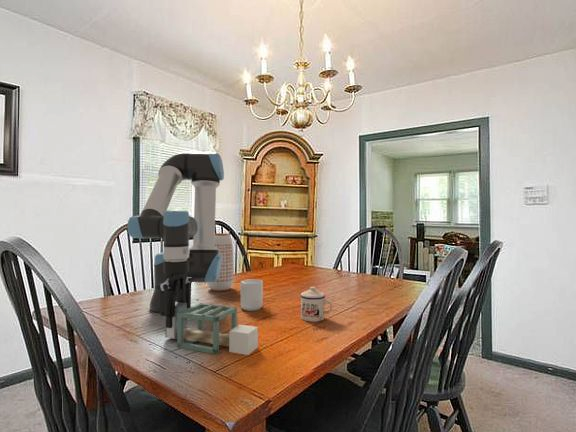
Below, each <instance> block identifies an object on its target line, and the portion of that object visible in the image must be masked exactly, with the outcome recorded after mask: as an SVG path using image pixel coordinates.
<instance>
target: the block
mask: <svg viewBox="0 0 576 432" xmlns="http://www.w3.org/2000/svg"><path fill="white" fill-rule="evenodd" d="M228 332H229V334H228V335H229V346H228V347H229V350H228V351H229V352H230V353H233V354H234V353H235V354H240V355H245V356H249V355H250V354H252V353H253V352H254V351H255V350H257V349H258V347H259V343H258V342H259V327H258V326H252V325H244V324H237V327H235V328H233V329H232V330H229V331H228Z"/></svg>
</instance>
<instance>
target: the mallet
mask: <svg viewBox="0 0 576 432" xmlns="http://www.w3.org/2000/svg"><path fill="white" fill-rule="evenodd" d="M185 309H187V303H181V302H175V309H174V316H175V317H176V338H174V339H175V340H177V313H178V312H180V311H182V310H185ZM164 326H165V327H164V331H165V334H164V337H165V338H167V328H166V317H164ZM183 340H189V341H193V342H195V341H200V343H207V344H212V345H213V331H206V330H204V331H201V330H198V329H194V328H188V318H184V317H183ZM219 346H226V347H229V334H227V333H221V332H219Z"/></svg>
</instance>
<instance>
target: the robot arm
mask: <svg viewBox="0 0 576 432" xmlns="http://www.w3.org/2000/svg"><path fill="white" fill-rule="evenodd" d="M157 176H158V178H157V180H156V183H154V186H153V188H152V189H151V193H150V195H149V197H148V199H147V200H146V203H145V205H144V207H143V209H142V211H141V212H140V215H132V216H131V217H129V218H128V220H127V229H126V230H127V233H128V235H129V236H130V238H133V239H142V240H143V239H163V251H162V252H159V253H157V254H155V255H154V264H153V267H154V268H153V272H154V273H153V275H154V279H153V281H154V283H153V285H154V289H153V293H152V297H151V300H150V303H149V311H151V312H154V313H159V314H160V316H161V317H164V318H165V317H166V328H167V337H166V338H168V339H174V338H176V317H175V316H174V309H175V302H181V303H187V308H190V307H192V306H191V305H192V304H191V303H192V283H204V284H207V282H215V281H216V280H217V279H218V277H219V275H220V271H221V265H222V255H221V254H220V253H218V248H217V247H216V246H215V234H216V206H217V205H216V201H217V199H216V198H217V188H218V187H219V186H220V185H221V184H220V183H221V181H224V179H225V177H224V176H225V172H224V164H223V160H222V156H221V154H219V153H218V152H211V151H205V152H204V151H201V152H199V151H193V152H192V151H182V152H179V153H176V154H174V155H171V157H169V158H168V159H167V160H166V161H165V162H163V164H162V165H160V167H159V169H158V175H157ZM182 181H191V185H192V186H194V207H193V208H194V209H193V211H194V212H193V216H191V215H189V211H188V210H183V209H181V210H179V209H178V210H174V209H172V210H171V209H170V210H169V206H170V204H171V201H172V198H173V196H174V194H175V191H176V189H177V186H178V185H180V184H181V183H182ZM190 238H192V240H193V241H192V242H193V243H192V245H191V246H190Z"/></svg>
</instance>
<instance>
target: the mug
mask: <svg viewBox="0 0 576 432" xmlns="http://www.w3.org/2000/svg"><path fill="white" fill-rule="evenodd" d="M263 283H264V281H263V280H261V279H255V278H249V279H247V278H246V279H243V280H240V307H241V309H242V310H244V311H247V312H248V311H249V312H250V311H251V312H252V311H254V312H255V311H260V309H261V308H262V307H263V291H264V289H263V287H264V286H263Z"/></svg>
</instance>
